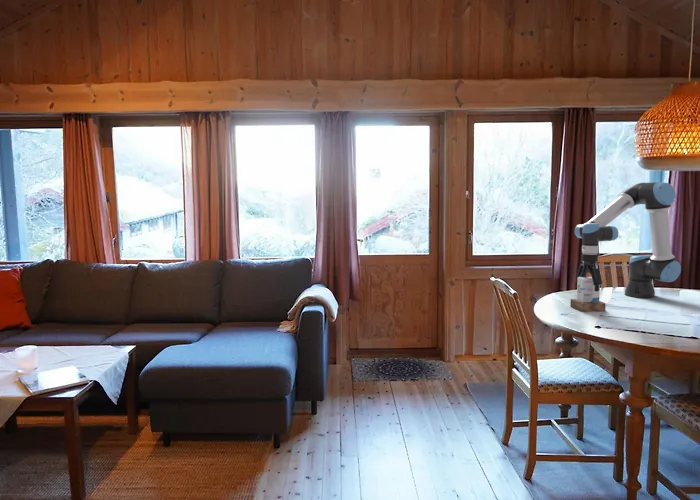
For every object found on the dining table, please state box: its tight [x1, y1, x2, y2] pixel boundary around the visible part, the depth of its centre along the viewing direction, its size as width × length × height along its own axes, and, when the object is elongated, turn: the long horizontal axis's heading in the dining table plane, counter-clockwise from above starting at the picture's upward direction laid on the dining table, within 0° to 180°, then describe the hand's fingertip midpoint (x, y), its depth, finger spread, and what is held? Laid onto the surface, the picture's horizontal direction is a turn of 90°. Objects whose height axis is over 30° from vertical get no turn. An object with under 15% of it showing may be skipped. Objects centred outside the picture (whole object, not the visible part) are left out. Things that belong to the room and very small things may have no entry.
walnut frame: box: [569, 298, 606, 313], centre depth 265 cm, size 12×12×4 cm
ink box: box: [576, 276, 601, 302], centre depth 264 cm, size 8×8×12 cm
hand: (588, 294), depth 265 cm, fingers open, 13 cm apart
